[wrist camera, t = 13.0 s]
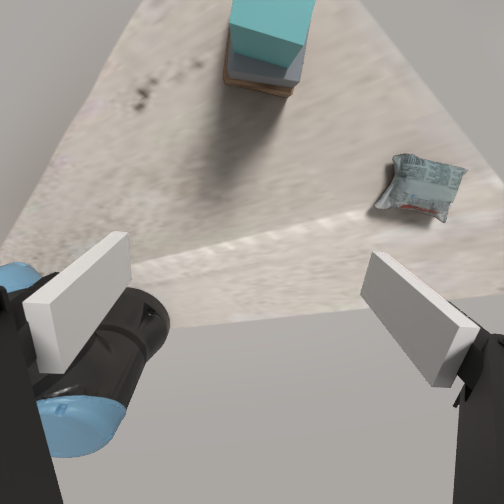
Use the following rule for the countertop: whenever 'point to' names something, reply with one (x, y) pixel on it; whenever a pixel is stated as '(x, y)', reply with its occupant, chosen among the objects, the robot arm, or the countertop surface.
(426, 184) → the packaged food
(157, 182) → the countertop surface
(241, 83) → the walnut base
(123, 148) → the countertop surface
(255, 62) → the charcoal block
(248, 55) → the teal block
